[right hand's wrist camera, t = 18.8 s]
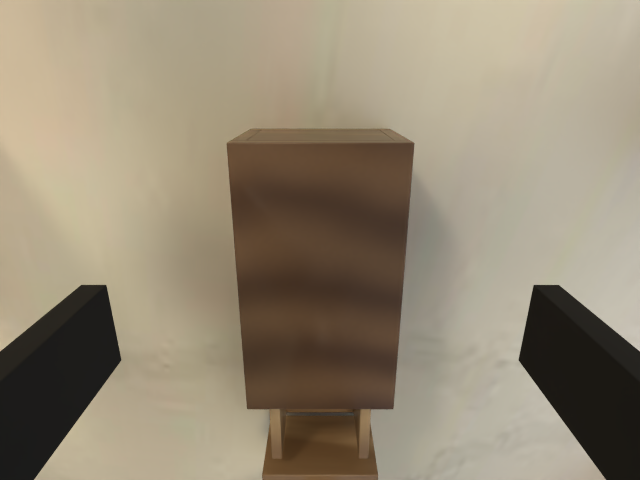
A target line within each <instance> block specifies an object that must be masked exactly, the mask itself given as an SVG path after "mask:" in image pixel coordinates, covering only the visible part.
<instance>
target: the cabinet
mask: <svg viewBox="0 0 640 480" xmlns="http://www.w3.org/2000/svg"><path fill="white" fill-rule="evenodd" d="M227 153H228V166H229V179H230V192H231V205H232V218H233V231H234V244H235V257H236V270H237V283H238V296H239V309H240V322H241V335H242V348H243V361H244V374H245V387H246V400H247V409H393V407H394V394H395V381H396V369H397V356H398V343H399V331H400V318H401V305H402V293H403V280H404V267H405V255H406V242H407V229H408V217H409V204H410V191H411V179H412V166H413V153H414V143H413V142H412V141H410V140H408V139H407V138H405V137H403V136H401V135H400V134H398V133H396V132H394V131H393V130H391V129H250V130H248V131H246V132H245V133H243V134H241V135H240V136H238V137H236V138H235V139H233V140H231V141H229V142H228V143H227Z"/></svg>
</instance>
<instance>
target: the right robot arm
mask: <svg viewBox="0 0 640 480" xmlns="http://www.w3.org/2000/svg"><path fill="white" fill-rule="evenodd" d="M120 361H121V356H120V351H119V346H118V341H117V336H116V331H115V326H114V321H113V316H112V311H111V306H110V301H109V296H108V291H107V286H106V285H81V286H80V287H78V288H77V289H76V290H75V291H73V292H72V293H71V294H70V295H69V296H67V297H66V298H65V299H64V300H63V301H61V302H60V303H59V304H58V305H56V306H55V307H54V308H53V309H52V310H50V311H49V312H48V313H47V314H45V315H44V316H43V317H42V318H41V319H39V320H38V321H37V322H36V323H35V324H33V325H32V326H31V327H30V328H28V329H27V330H26V331H25V332H24V333H22V334H21V335H20V336H19V337H17V338H16V339H15V340H14V341H13V342H11V343H10V344H9V345H8V346H7V347H5V348H4V349H3V350H2V351H0V480H34V479H35V477H36V476H37V475H38V473H39V472H40V471H41V469H42V468H43V466H44V465H45V464H46V462H47V461H48V460H49V458H50V457H51V456H52V454H53V453H54V451H55V450H56V449H57V447H58V446H59V445H60V443H61V442H62V440H63V439H64V438H65V436H66V435H67V434H68V432H69V431H70V430H71V428H72V427H73V425H74V424H75V423H76V421H77V420H78V419H79V417H80V416H81V415H82V413H83V412H84V410H85V409H86V408H87V406H88V405H89V404H90V402H91V401H92V400H93V398H94V397H95V395H96V394H97V393H98V391H99V390H100V389H101V387H102V386H103V385H104V383H105V382H106V380H107V379H108V378H109V376H110V375H111V374H112V372H113V371H114V370H115V368H116V367H117V365H118V364H119V363H120ZM519 361H520V363H521V364H522V365H523V367H524V368H525V370H526V371H527V372H528V374H529V375H530V376H531V378H532V379H533V380H534V382H535V383H536V385H537V386H538V387H539V389H540V390H541V391H542V393H543V394H544V395H545V397H546V398H547V400H548V401H549V402H550V404H551V405H552V406H553V408H554V409H555V410H556V412H557V413H558V415H559V416H560V417H561V419H562V420H563V421H564V423H565V424H566V425H567V427H568V428H569V430H570V431H571V432H572V434H573V435H574V436H575V438H576V439H577V440H578V442H579V443H580V445H581V446H582V447H583V449H584V450H585V451H586V453H587V454H588V456H589V457H590V458H591V460H592V461H593V462H594V464H595V465H596V466H597V468H598V469H599V471H600V472H601V473H602V475H603V476H604V477H605V479H606V480H640V351H638V350H637V349H636V348H635V347H633V346H632V345H631V344H630V343H629V342H627V341H626V340H625V339H624V338H623V337H621V336H620V335H619V334H618V333H616V332H615V331H614V330H613V329H612V328H610V327H609V326H608V325H607V324H605V323H604V322H603V321H602V320H601V319H599V318H598V317H597V316H596V315H595V314H593V313H592V312H591V311H590V310H588V309H587V308H586V307H585V306H584V305H582V304H581V303H580V302H579V301H577V300H576V299H575V298H574V297H573V296H571V295H570V294H569V293H568V292H567V291H565V290H564V289H563V288H562V287H560V286H559V285H534V286H533V291H532V296H531V301H530V306H529V311H528V316H527V321H526V326H525V331H524V336H523V341H522V346H521V351H520V356H519Z"/></svg>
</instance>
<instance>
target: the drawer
mask: <svg viewBox="0 0 640 480" xmlns="http://www.w3.org/2000/svg"><path fill="white" fill-rule="evenodd" d="M287 412H354V416H286V415H287ZM370 415H371V409H270V427H269V433H268V440H267V447H266V453H265V460H264V467H263V473H262V478H263V480H378V471H377V465H376V458H375V451H374V445H373V438H372V431H371V425H370Z"/></svg>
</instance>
